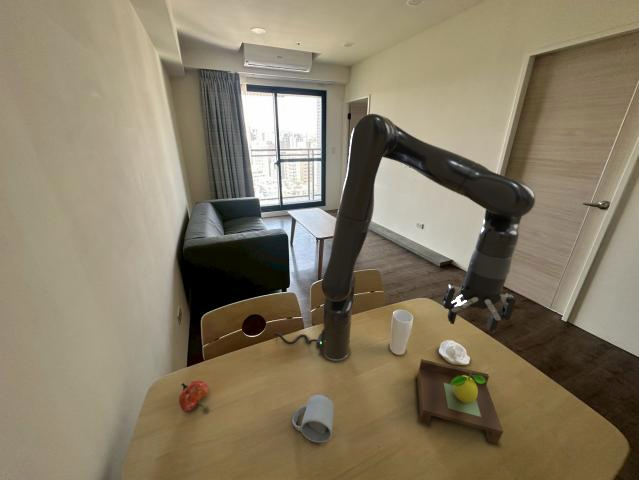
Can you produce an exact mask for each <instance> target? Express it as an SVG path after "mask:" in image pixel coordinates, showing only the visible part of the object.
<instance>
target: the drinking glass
mask: <svg viewBox="0 0 639 480" xmlns="http://www.w3.org/2000/svg"><path fill="white" fill-rule="evenodd" d="M413 325H414V315H413V314H412V313H411V312H409V310H405V309H396V310H394V311H393V313H392V316H391V321H390V338H389V339H390V342H389V350H390V351H391V352H392V353H393V354H395V355H396V356H397V355H398V356H401V355H404V354H405V353H406V349H407V345H408V342H409V338H410V335H411V332H412V328H413Z"/></svg>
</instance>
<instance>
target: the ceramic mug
mask: <svg viewBox="0 0 639 480" xmlns="http://www.w3.org/2000/svg"><path fill="white" fill-rule="evenodd" d="M302 413H304V415H303V418H302V422H301V425H297V421H298V419H299V417H300V415H301V414H302ZM334 415H335V405H334V402H333V399H332V398H330V396H328V395H326V394H324V393H315V394H313V395H311V396H310V397H309V399H308V401H307V403H306V405H303V406H301V407H299V408H297V410H296V411H295V412H294V414H293V416H292V420H291V421H292V425H293V427H294V428H295V430H296V431H298V432H300V433H301V434H302V435H303V436H304V437H305V439H307V440H309V441H310V442H313V443H318V444H319V443H320V444H321V443H325V442H328V441H329V440H330V439H331V437H332V435H333V425H334Z"/></svg>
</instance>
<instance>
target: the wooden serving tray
mask: <svg viewBox="0 0 639 480" xmlns="http://www.w3.org/2000/svg"><path fill="white" fill-rule="evenodd" d="M470 372H471V376H470V378H472V379H473V380H474V381H475V379H474V378H473V376H472V375H481V376H483V377H484V378H485V380H486V382H485V383H483V384H480V383H478V382H476V381H475V383H476V385H477V388H478V395H477V398H476V400H475V401H474V402H472V403H464V402H462V401H460V400H459V399H458V398H457V397H456V396H455V394H454V390H453V386H454V385H452V384H450V383H451V381H452V379H453V378H455V377H457V376H469V375H470ZM489 378H490V376H489V374H488V373H485V372H481V371H476V370H472V369H467V368H462V367H459V366H454V365H453V366H452V365H450V364H444V363H440V362H435V361H432V360H428V359H423V358H422V359H420V362H419V367H418V372H417V376H416V384H417V396H418V398H417V399H418V408H419V409H418V410H419V421H420V423H421V424H424V425H429V424H430V420H431V416H432V417H437V418H440V419H444V420H447V421H450V422H453V423H454V422H455V423H459V424H462V425H465V426H468V427H472V428H475V429H479V430H483V431H485V435H486V439H487V442H488V443H492V444H494V445H498V444H499V442H500V441H501V438H502V435H503V433H504V429H503V427H502V425H501V421H500V418H499V416H498V413H497V410H496V408H495V405H494V402H493V399H492V396H491V394H490V391H489V388H488V385H487V384H488V381H489Z"/></svg>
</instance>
